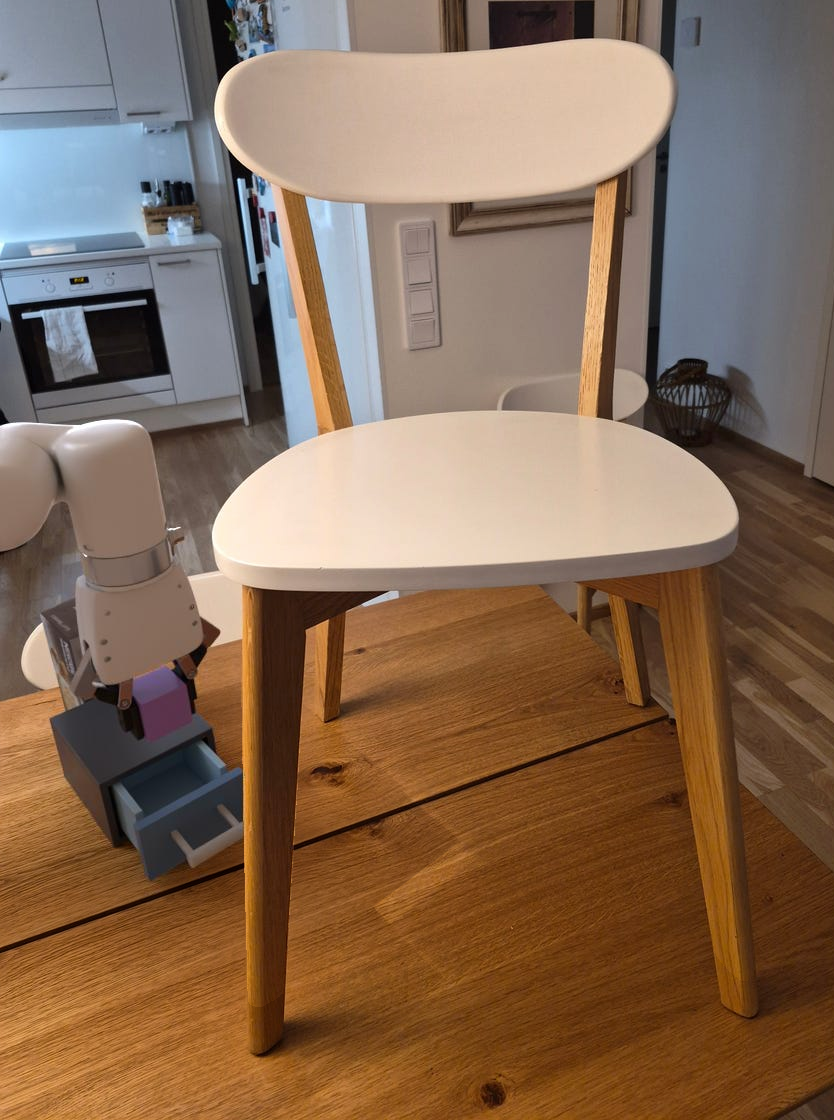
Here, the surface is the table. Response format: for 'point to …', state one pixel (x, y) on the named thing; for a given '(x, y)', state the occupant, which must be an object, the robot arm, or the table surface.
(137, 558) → the robot arm
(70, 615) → the coffee box
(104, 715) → the dark grey drawer cabinet
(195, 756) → the blue drawer
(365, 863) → the table surface
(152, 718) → the cube
